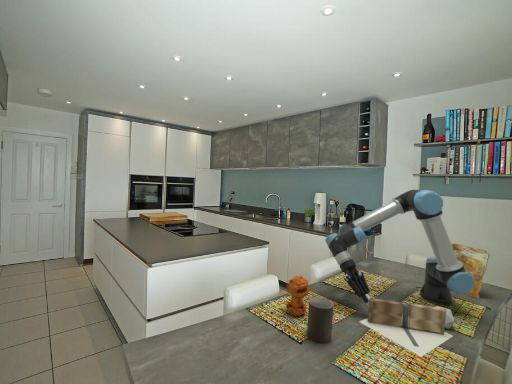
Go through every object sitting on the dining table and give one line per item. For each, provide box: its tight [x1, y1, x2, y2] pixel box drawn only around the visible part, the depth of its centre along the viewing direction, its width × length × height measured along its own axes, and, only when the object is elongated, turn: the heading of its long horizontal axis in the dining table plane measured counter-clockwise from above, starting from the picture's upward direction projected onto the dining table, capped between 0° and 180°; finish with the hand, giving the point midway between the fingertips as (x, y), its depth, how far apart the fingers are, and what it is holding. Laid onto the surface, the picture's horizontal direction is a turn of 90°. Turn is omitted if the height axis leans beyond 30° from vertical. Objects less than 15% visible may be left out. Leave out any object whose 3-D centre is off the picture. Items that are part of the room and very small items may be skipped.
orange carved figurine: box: [285, 274, 311, 317], centre depth 121 cm, size 11×11×18 cm
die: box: [435, 305, 455, 330], centre depth 117 cm, size 8×9×10 cm
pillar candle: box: [306, 297, 334, 344], centre depth 104 cm, size 10×10×15 cm
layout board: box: [358, 315, 454, 359], centre depth 112 cm, size 27×26×1 cm
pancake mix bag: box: [451, 243, 490, 299], centre depth 156 cm, size 7×19×28 cm, turn 24°
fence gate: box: [367, 298, 404, 327], centre depth 115 cm, size 14×2×10 cm, turn 78°
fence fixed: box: [402, 302, 447, 335], centre depth 111 cm, size 16×2×10 cm, turn 78°
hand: (372, 309), depth 118 cm, fingers closed
